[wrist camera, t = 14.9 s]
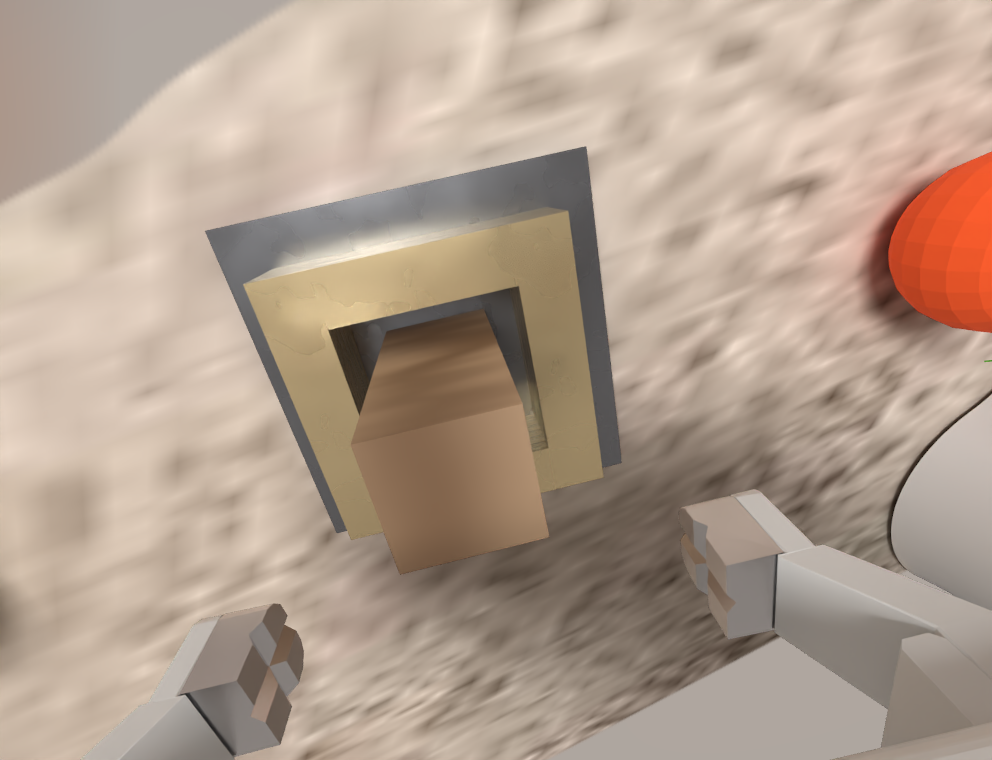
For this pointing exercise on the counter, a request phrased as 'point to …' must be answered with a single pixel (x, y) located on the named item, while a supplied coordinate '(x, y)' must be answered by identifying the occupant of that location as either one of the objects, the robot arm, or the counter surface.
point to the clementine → (948, 248)
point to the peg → (447, 445)
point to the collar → (433, 309)
